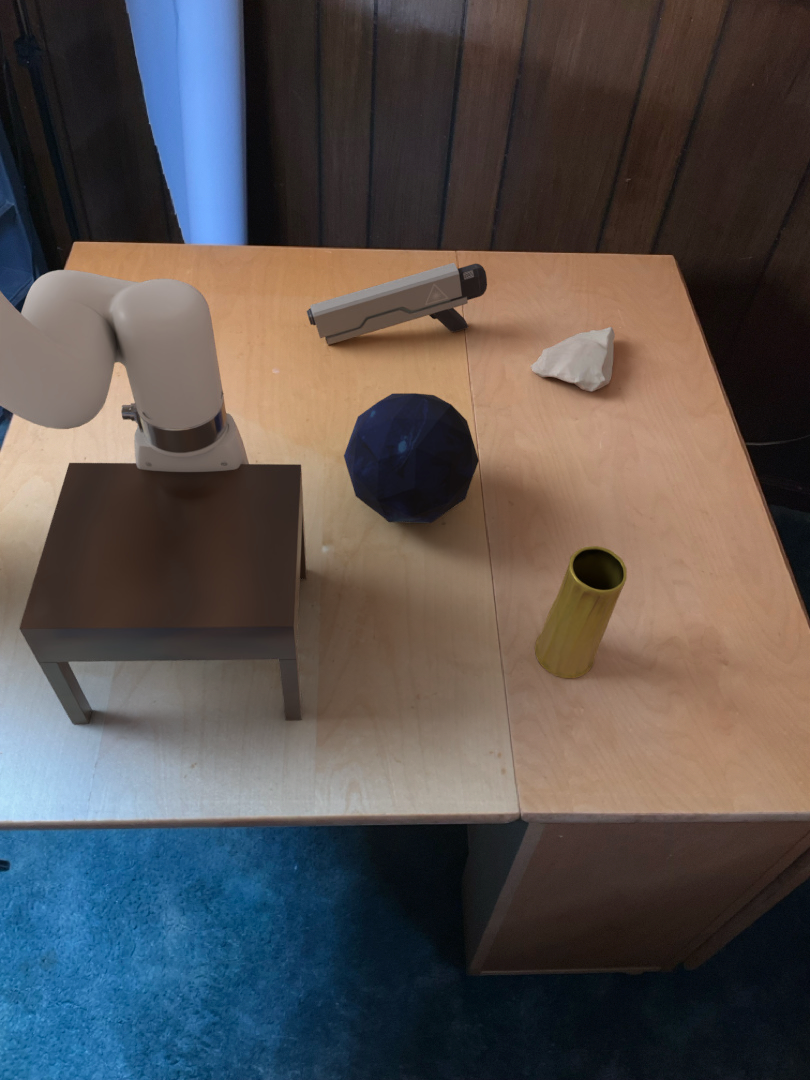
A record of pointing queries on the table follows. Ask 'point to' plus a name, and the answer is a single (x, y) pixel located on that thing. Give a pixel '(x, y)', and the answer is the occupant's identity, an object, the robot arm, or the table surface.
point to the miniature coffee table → (169, 572)
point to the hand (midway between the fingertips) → (211, 545)
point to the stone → (580, 359)
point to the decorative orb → (411, 457)
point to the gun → (400, 303)
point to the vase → (581, 612)
